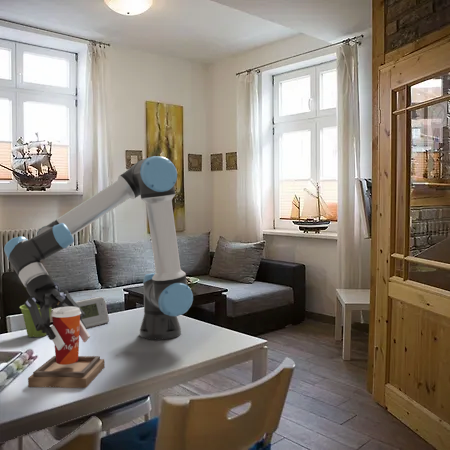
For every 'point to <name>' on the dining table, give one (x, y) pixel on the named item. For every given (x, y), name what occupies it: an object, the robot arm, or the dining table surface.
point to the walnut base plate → (67, 373)
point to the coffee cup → (67, 333)
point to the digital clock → (93, 311)
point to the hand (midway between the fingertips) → (74, 343)
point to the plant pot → (31, 322)
